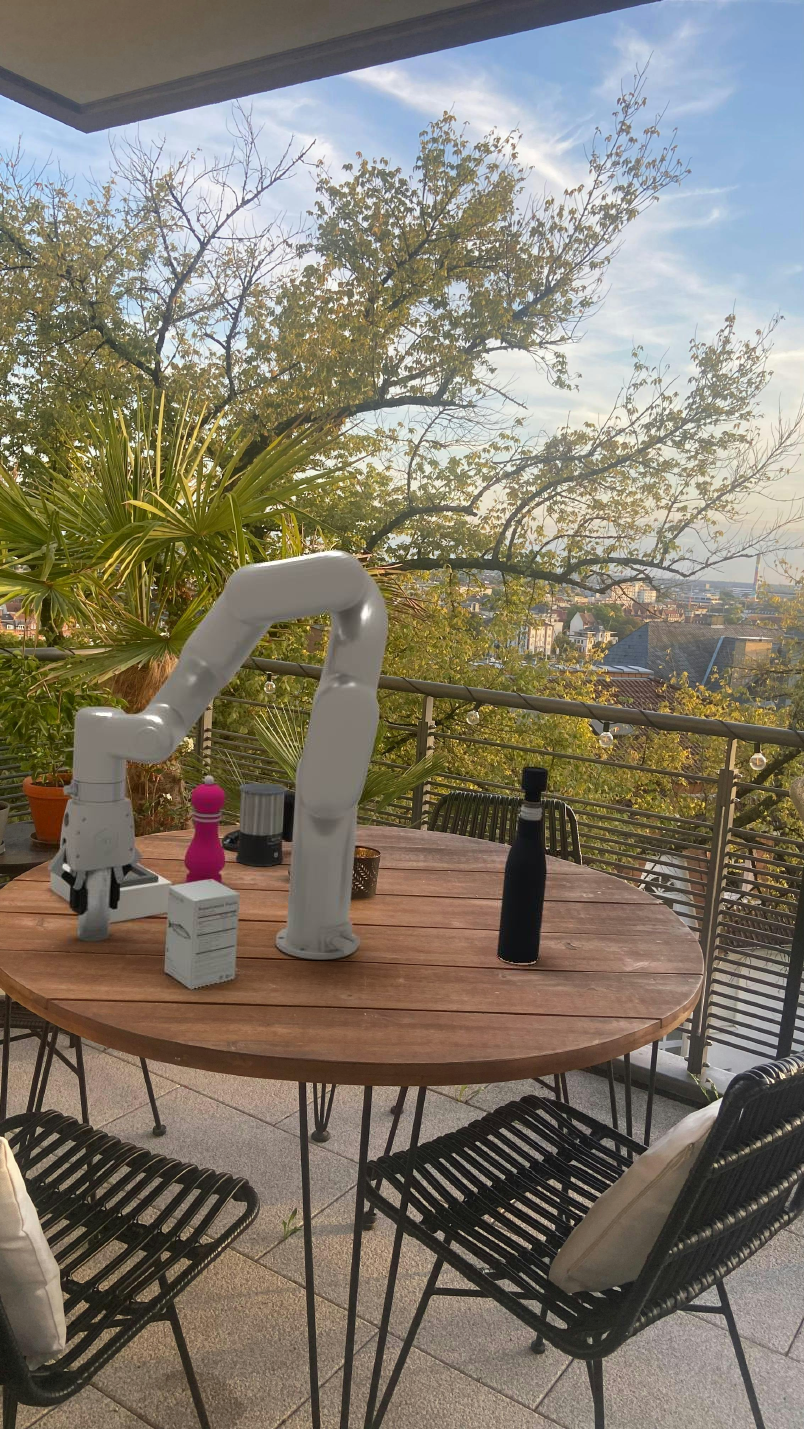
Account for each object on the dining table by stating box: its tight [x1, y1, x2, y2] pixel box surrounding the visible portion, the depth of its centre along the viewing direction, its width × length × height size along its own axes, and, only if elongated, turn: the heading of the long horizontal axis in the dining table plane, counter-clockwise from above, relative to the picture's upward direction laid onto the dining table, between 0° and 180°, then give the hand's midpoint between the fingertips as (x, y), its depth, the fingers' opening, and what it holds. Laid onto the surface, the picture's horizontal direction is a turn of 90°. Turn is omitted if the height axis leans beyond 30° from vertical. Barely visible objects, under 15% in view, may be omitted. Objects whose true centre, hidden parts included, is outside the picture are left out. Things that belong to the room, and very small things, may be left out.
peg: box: [77, 867, 112, 943], centre depth 146 cm, size 4×4×12 cm
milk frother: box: [221, 782, 295, 867], centre depth 195 cm, size 14×16×15 cm
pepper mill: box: [183, 775, 226, 884], centre depth 174 cm, size 7×7×20 cm
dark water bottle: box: [496, 765, 549, 963], centre depth 150 cm, size 6×6×30 cm
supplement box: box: [164, 879, 241, 990], centre depth 135 cm, size 7×7×13 cm
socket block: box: [49, 862, 173, 924], centre depth 162 cm, size 20×12×12 cm, turn 42°
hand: (94, 908), depth 146 cm, fingers closed on peg, 4 cm apart
